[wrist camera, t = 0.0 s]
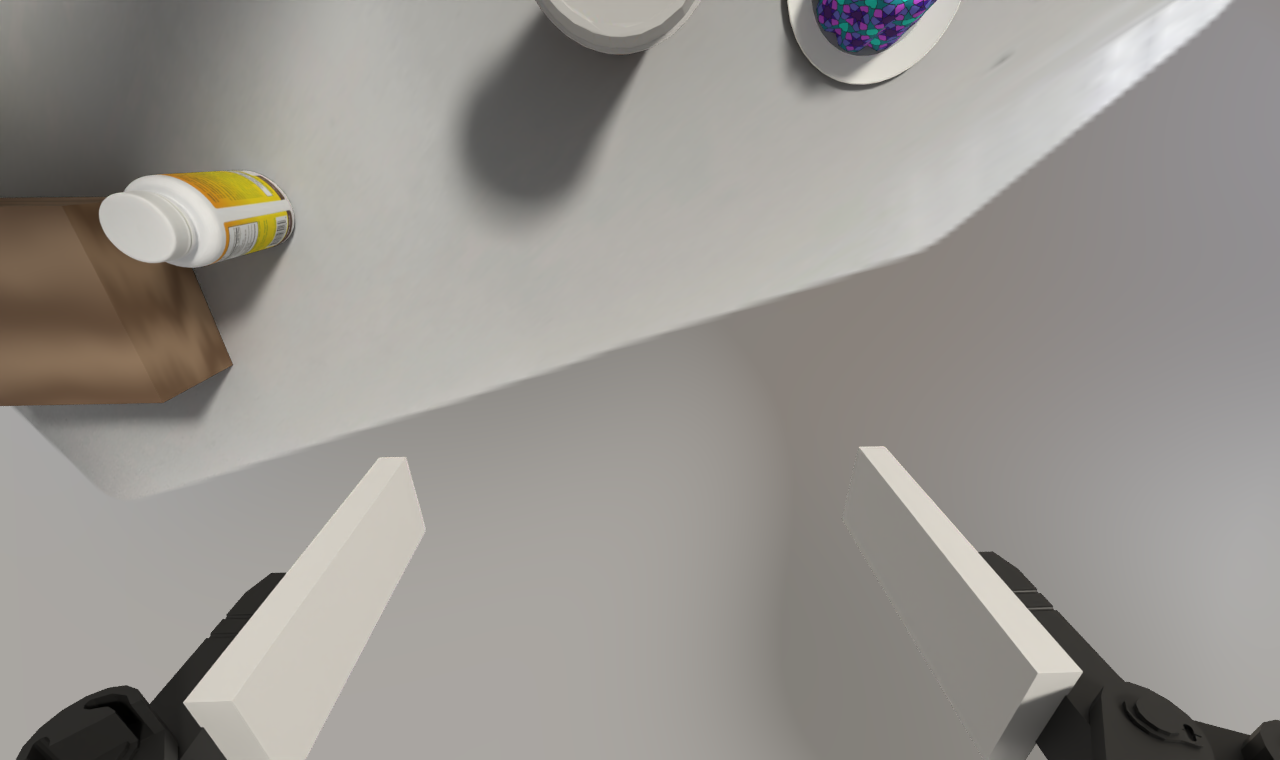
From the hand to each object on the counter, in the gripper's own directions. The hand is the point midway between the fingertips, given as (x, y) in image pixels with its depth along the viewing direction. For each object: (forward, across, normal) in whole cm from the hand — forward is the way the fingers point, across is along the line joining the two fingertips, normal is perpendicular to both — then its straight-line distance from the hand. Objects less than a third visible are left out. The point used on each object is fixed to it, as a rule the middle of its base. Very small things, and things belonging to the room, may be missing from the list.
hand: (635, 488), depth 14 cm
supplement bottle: (+28, -28, +5) cm, 40 cm away
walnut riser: (+28, -42, -1) cm, 51 cm away
